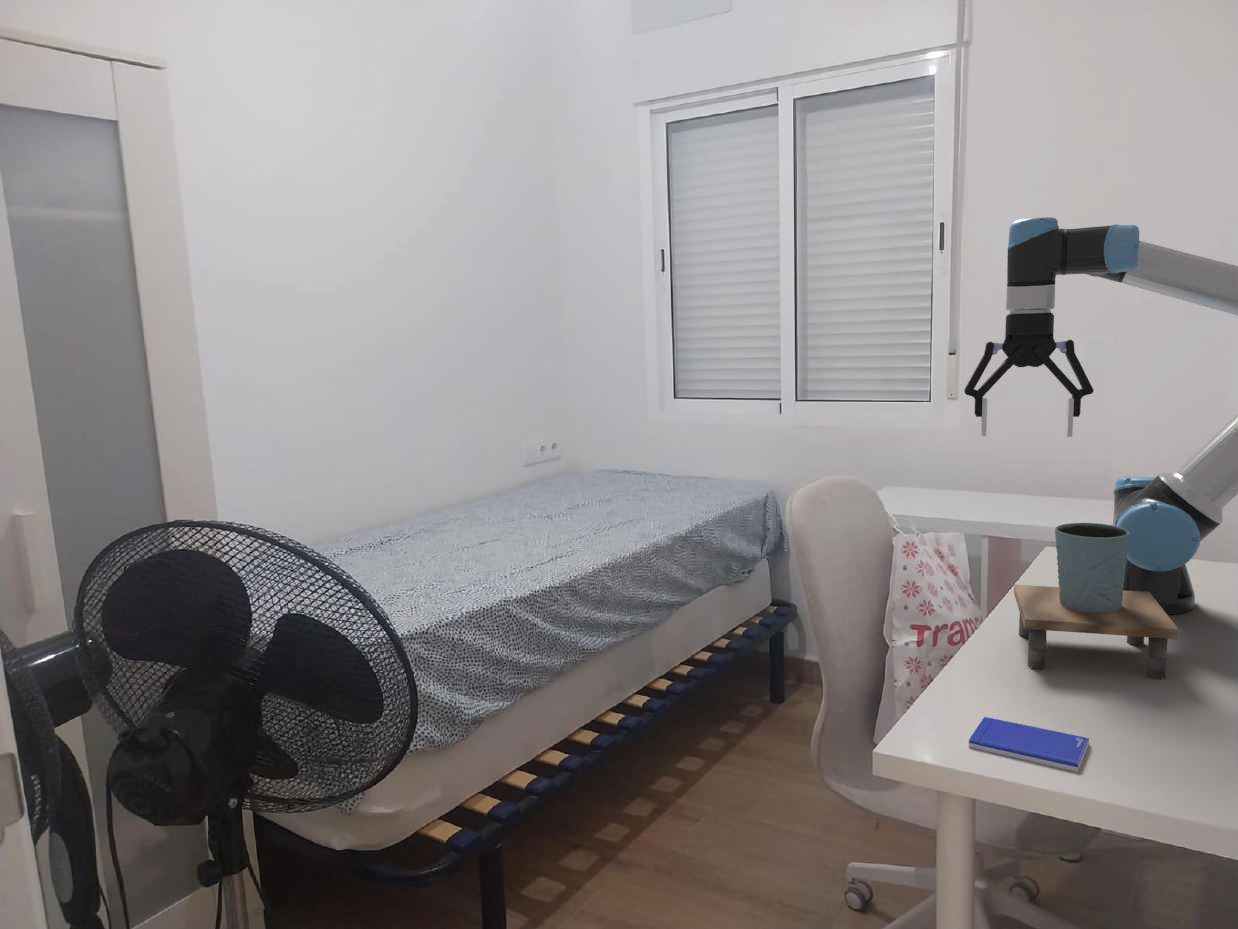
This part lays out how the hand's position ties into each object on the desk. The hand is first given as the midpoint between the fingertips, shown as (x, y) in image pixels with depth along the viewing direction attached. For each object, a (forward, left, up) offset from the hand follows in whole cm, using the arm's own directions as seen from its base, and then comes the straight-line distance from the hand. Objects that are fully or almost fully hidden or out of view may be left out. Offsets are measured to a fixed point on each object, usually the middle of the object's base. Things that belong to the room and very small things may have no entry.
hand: (1025, 435), depth 158 cm
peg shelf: (-8, +20, -32) cm, 38 cm away
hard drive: (+4, +54, -32) cm, 63 cm away
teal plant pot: (-8, +20, -24) cm, 32 cm away
